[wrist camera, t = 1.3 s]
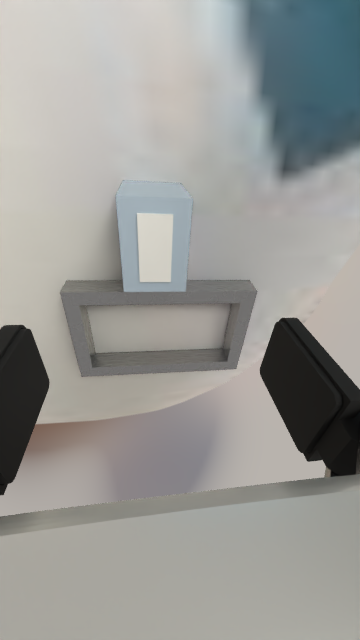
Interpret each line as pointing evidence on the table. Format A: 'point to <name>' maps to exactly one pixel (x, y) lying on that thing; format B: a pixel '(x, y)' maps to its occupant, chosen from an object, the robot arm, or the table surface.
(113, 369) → the grey rectangular frame
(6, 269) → the table surface
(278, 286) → the table surface
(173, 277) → the module
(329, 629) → the robot arm
